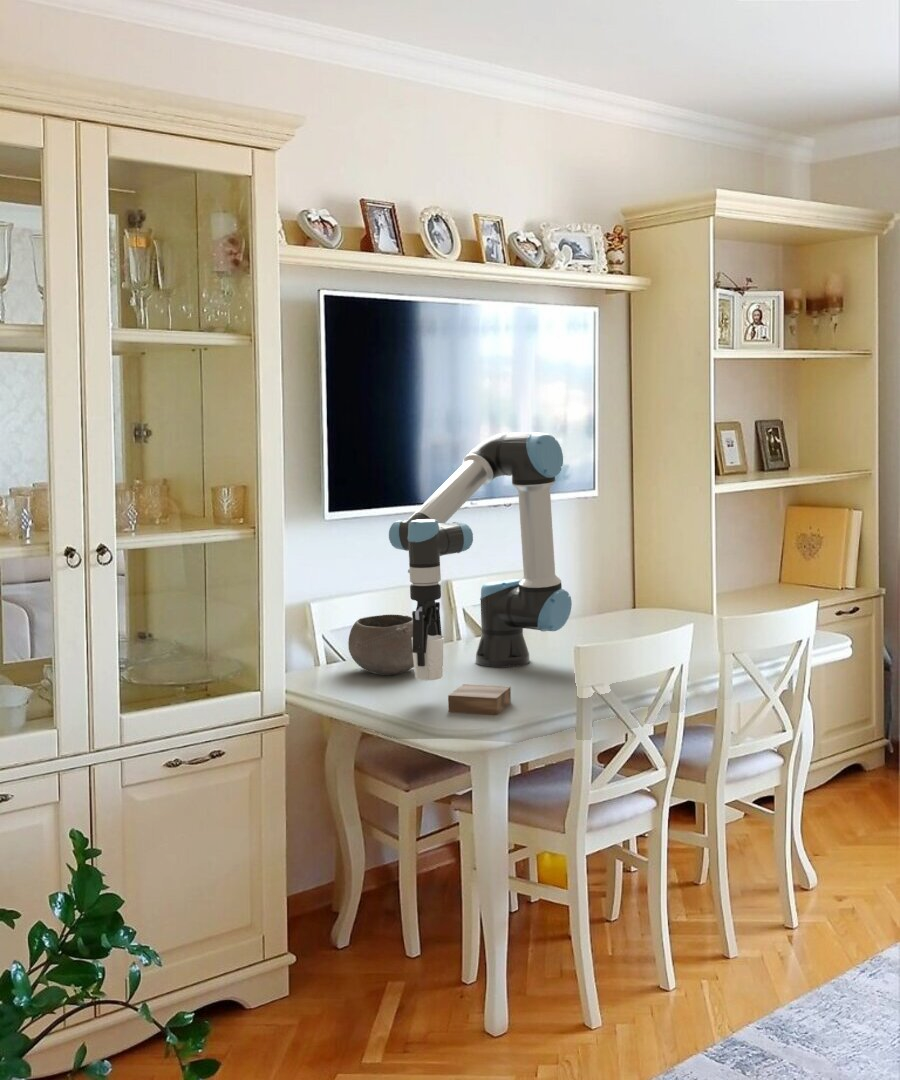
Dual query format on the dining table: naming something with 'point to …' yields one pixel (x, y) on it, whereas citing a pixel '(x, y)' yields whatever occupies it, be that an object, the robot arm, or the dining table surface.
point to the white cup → (432, 657)
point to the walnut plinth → (479, 699)
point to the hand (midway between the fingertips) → (428, 674)
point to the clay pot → (382, 644)
